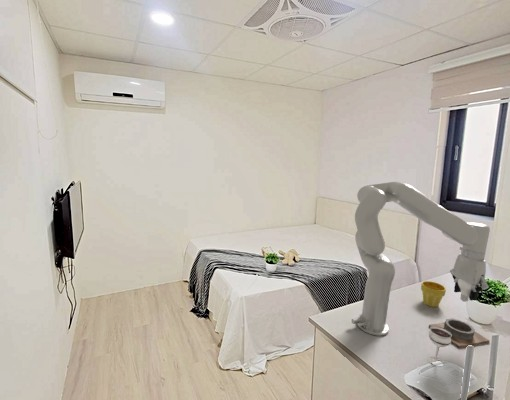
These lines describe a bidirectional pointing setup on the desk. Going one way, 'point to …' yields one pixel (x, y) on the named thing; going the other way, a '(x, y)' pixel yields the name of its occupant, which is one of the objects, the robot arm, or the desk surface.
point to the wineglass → (439, 339)
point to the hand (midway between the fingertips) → (465, 295)
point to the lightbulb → (464, 289)
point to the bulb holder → (462, 333)
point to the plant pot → (432, 293)
